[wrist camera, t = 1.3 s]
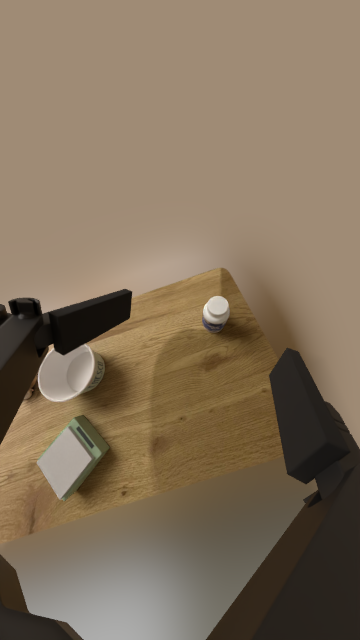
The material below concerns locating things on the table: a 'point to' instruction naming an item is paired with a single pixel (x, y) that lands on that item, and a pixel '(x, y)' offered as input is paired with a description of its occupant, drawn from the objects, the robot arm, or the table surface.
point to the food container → (70, 373)
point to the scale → (72, 456)
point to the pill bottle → (215, 314)
